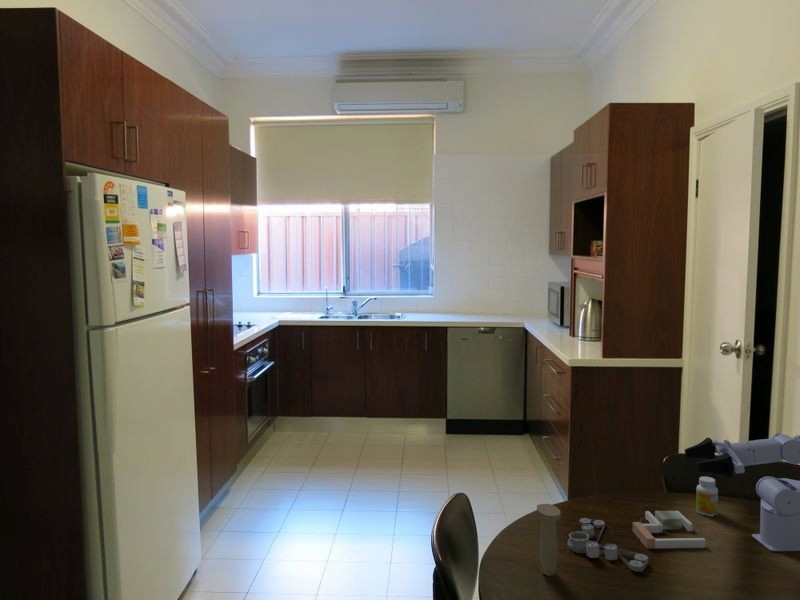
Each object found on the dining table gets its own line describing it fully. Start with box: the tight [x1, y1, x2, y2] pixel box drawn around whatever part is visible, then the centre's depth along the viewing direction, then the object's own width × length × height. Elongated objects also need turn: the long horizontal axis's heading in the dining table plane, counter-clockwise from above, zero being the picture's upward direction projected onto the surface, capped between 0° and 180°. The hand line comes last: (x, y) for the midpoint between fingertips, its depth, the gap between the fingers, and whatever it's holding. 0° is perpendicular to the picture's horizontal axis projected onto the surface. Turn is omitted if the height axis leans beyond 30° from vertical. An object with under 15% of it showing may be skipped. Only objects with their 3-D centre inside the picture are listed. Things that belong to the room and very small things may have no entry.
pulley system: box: [567, 517, 650, 573], centre depth 142 cm, size 27×5×15 cm
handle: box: [536, 503, 561, 577], centre depth 130 cm, size 5×6×15 cm
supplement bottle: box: [695, 476, 719, 517], centre depth 159 cm, size 5×5×10 cm
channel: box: [642, 510, 707, 549], centre depth 149 cm, size 14×16×2 cm
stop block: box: [632, 521, 656, 549], centre depth 145 cm, size 2×9×2 cm, turn 179°
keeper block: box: [654, 510, 683, 530], centre depth 153 cm, size 5×5×3 cm
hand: (691, 460), depth 143 cm, fingers open, 7 cm apart
